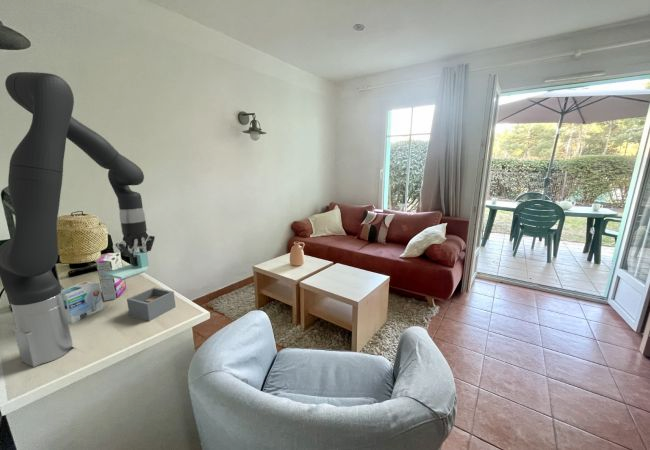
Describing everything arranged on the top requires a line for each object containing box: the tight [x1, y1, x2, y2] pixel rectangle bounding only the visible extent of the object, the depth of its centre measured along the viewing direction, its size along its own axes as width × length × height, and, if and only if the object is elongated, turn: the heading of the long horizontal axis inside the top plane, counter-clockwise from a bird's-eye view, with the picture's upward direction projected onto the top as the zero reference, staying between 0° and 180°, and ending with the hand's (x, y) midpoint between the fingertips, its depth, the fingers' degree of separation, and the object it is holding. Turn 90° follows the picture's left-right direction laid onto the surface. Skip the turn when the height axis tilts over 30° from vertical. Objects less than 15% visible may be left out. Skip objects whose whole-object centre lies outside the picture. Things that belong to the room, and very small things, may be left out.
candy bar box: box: [95, 252, 127, 302], centre depth 107 cm, size 11×5×16 cm, turn 22°
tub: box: [126, 286, 176, 322], centre depth 94 cm, size 10×10×7 cm
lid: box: [104, 251, 150, 280], centre depth 97 cm, size 11×10×7 cm
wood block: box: [145, 296, 159, 303], centre depth 97 cm, size 4×4×4 cm
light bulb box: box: [61, 281, 104, 325], centre depth 91 cm, size 11×7×11 cm, turn 168°
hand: (139, 264), depth 101 cm, fingers closed on lid, 2 cm apart
